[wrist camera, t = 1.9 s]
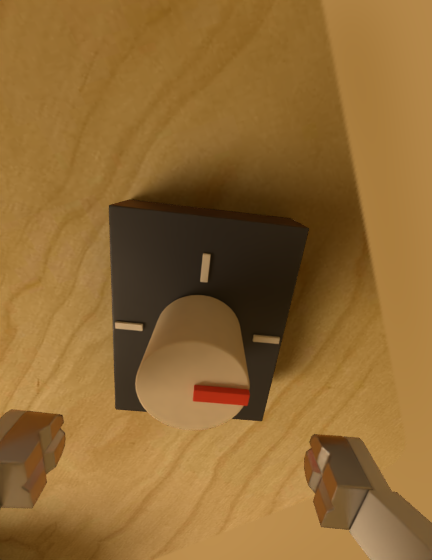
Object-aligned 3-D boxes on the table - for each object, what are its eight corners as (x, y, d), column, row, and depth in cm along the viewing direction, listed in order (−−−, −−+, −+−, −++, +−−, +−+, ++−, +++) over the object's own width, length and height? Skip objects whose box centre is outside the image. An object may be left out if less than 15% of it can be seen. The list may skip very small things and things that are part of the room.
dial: (155, 362, 14) (132, 433, 10) (157, 289, 13) (132, 340, 9) (234, 369, 15) (241, 441, 11) (246, 299, 13) (260, 352, 9)
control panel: (128, 199, 14) (106, 204, 11) (291, 218, 15) (311, 228, 12) (129, 374, 19) (114, 411, 16) (255, 385, 19) (262, 424, 16)
